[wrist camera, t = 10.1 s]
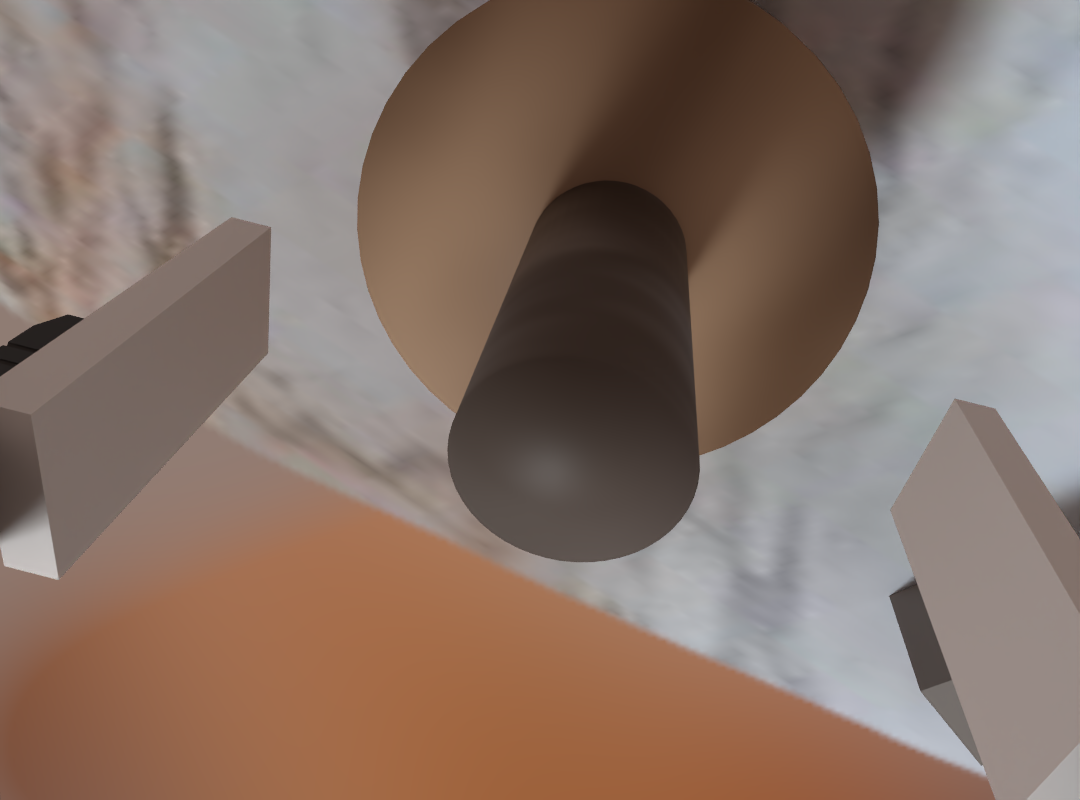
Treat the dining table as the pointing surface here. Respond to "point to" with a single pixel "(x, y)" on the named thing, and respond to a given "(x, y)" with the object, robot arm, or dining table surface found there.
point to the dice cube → (930, 663)
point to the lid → (612, 251)
